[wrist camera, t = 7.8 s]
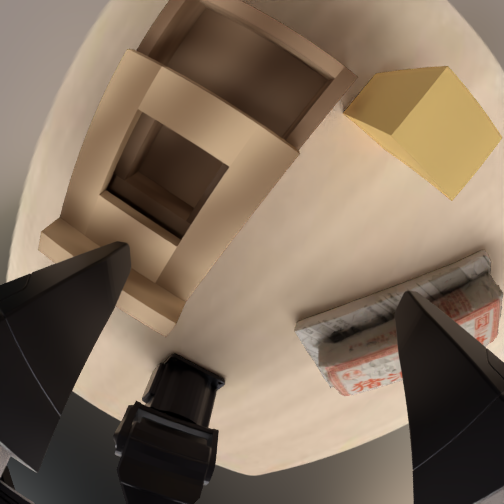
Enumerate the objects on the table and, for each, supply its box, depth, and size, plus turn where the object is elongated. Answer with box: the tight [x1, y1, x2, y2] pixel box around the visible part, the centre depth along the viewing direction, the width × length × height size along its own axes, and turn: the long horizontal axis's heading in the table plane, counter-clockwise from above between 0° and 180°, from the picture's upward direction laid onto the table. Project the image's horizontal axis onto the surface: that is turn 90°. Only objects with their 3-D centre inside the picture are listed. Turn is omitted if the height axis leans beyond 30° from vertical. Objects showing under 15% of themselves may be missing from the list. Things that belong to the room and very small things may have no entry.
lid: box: [38, 49, 300, 337], centre depth 15 cm, size 10×13×3 cm
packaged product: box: [294, 250, 503, 396], centre depth 22 cm, size 18×5×10 cm
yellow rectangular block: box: [343, 66, 502, 201], centre depth 12 cm, size 4×4×9 cm
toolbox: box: [106, 0, 358, 240], centre depth 17 cm, size 10×18×4 cm, turn 146°
